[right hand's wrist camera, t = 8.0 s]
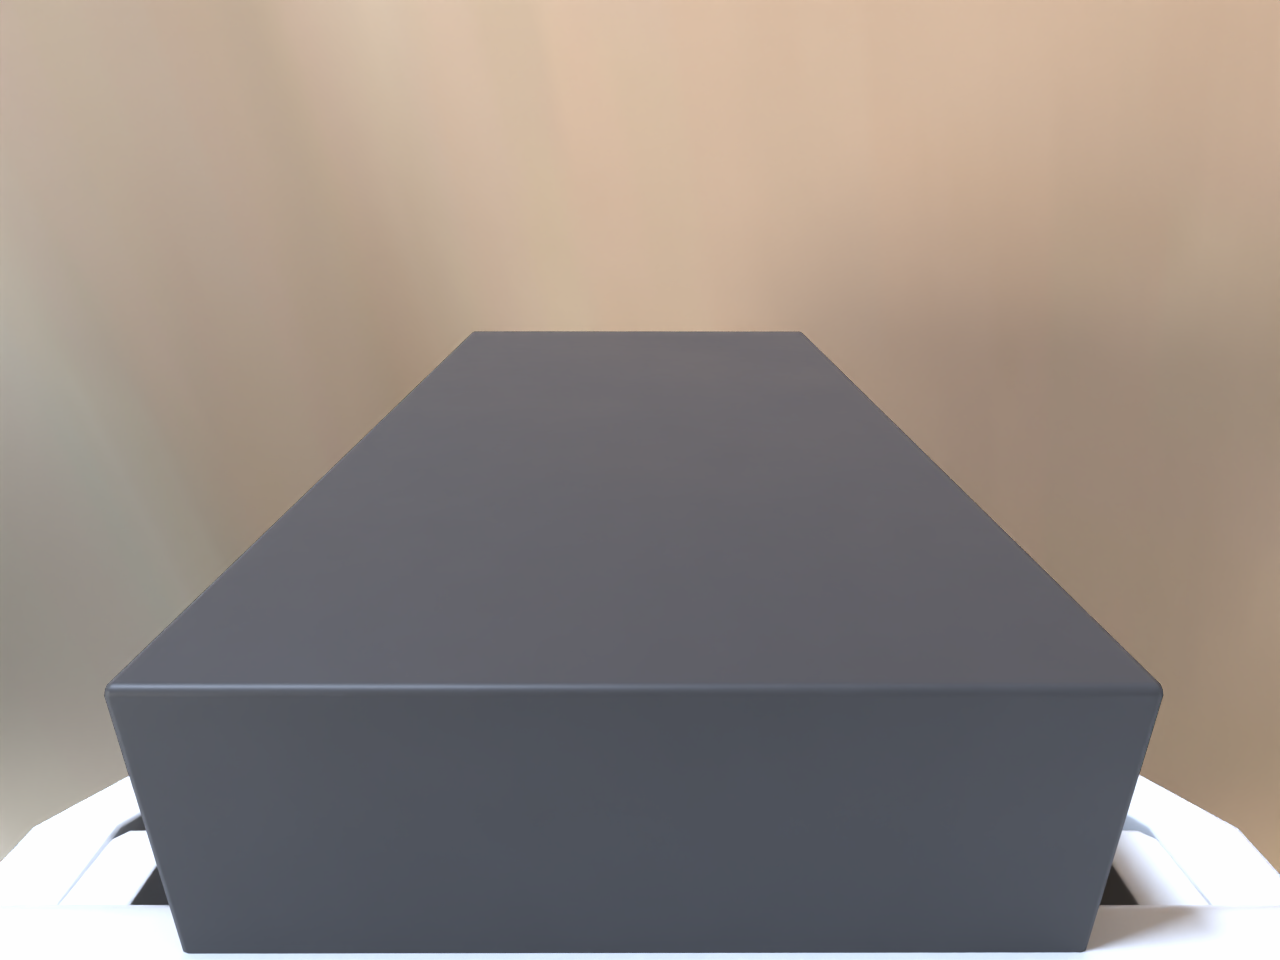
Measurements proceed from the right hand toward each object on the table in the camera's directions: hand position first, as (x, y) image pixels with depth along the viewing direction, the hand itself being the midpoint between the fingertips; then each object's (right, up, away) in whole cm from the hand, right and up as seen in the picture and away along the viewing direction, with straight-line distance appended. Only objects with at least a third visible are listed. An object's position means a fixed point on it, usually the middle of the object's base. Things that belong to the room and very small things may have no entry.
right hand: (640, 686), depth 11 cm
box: (0, -6, +8) cm, 10 cm away
